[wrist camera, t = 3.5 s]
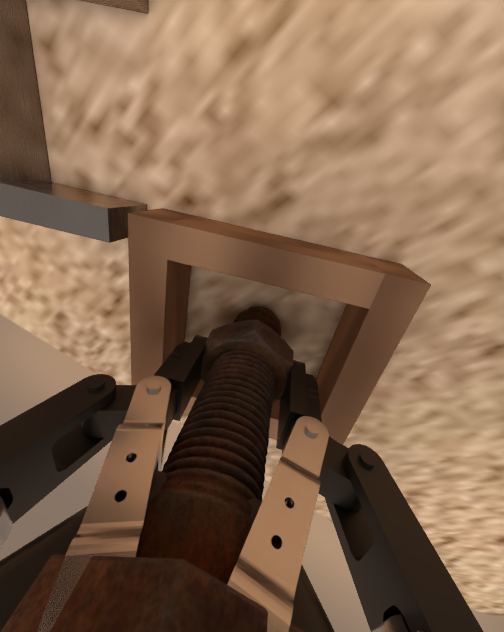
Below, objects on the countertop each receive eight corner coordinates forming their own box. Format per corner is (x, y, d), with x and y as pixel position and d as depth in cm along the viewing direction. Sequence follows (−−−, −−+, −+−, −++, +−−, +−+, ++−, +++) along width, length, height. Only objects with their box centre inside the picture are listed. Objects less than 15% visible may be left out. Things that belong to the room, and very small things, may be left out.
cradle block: (148, -41, 11) (88, -135, 8) (146, 232, 16) (109, 242, 13) (-27, -73, 11) (-152, -175, 8) (25, 203, 16) (-39, 206, 13)
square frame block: (402, 264, 14) (431, 284, 11) (330, 414, 20) (336, 456, 17) (162, 208, 15) (127, 213, 12) (157, 368, 21) (132, 399, 17)
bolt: (315, 330, 17) (385, 844, 4) (264, 371, 19) (187, 792, 6) (250, 270, 16) (7, 684, 3) (203, 320, 18) (-67, 694, 5)
